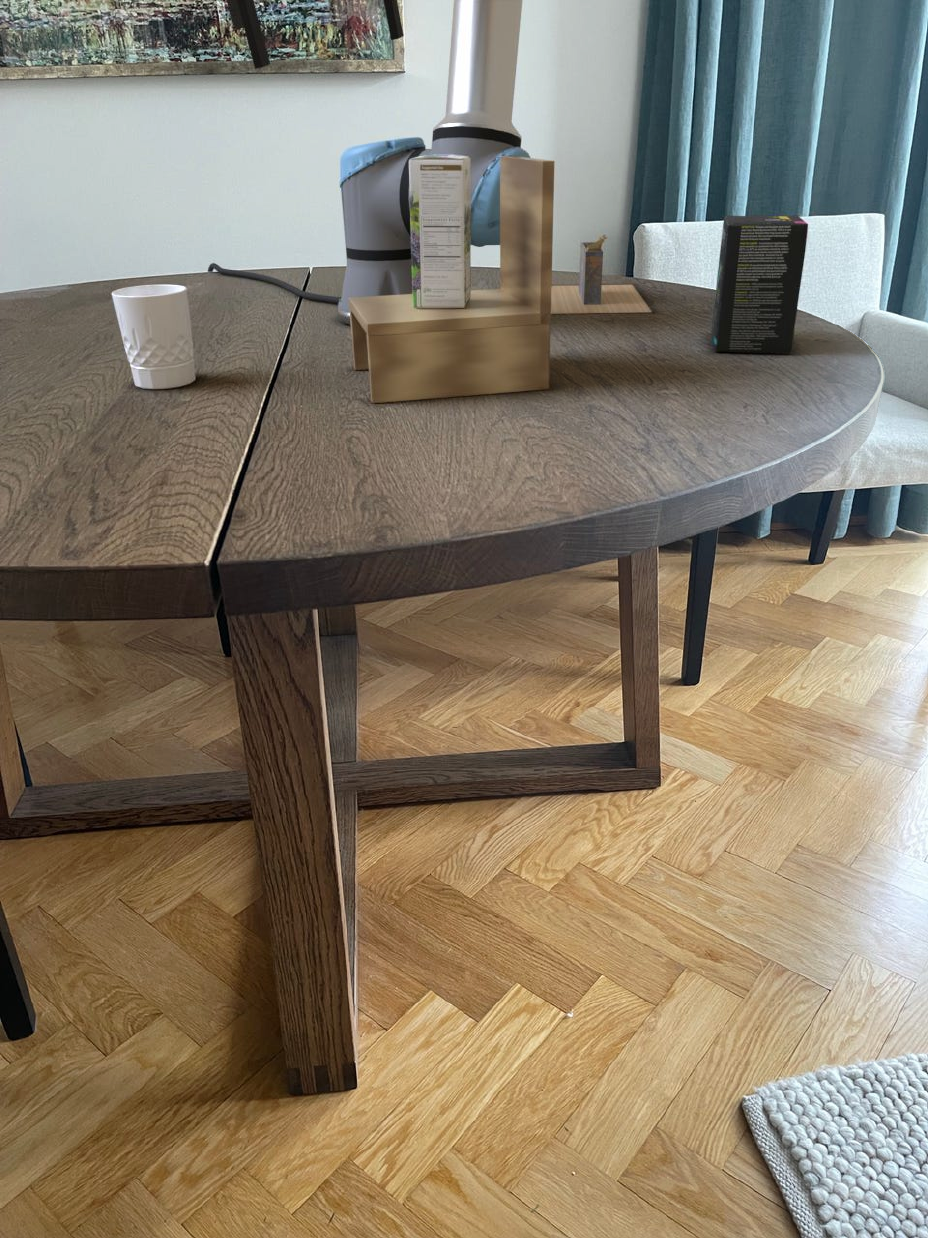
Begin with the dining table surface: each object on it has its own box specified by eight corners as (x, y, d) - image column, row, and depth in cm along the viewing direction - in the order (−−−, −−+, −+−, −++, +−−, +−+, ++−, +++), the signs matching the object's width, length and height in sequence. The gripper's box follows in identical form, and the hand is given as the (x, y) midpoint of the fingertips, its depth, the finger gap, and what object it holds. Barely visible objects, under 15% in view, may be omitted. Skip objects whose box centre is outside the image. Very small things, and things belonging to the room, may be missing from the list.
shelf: (372, 403, 96) (356, 167, 85) (353, 368, 110) (338, 160, 99) (549, 389, 100) (554, 160, 89) (509, 356, 113) (510, 155, 103)
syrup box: (420, 299, 104) (414, 154, 97) (472, 299, 103) (470, 153, 96) (412, 309, 99) (405, 156, 92) (467, 309, 98) (465, 155, 91)
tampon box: (792, 355, 111) (812, 222, 104) (713, 353, 113) (726, 222, 106) (783, 336, 120) (801, 213, 113) (710, 334, 122) (723, 213, 115)
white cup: (214, 375, 108) (200, 285, 103) (174, 393, 101) (158, 297, 96) (156, 371, 110) (141, 283, 105) (114, 388, 103) (95, 294, 99)
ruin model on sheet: (652, 312, 136) (657, 241, 132) (540, 313, 137) (541, 243, 133) (632, 284, 158) (636, 222, 154) (536, 285, 159) (537, 224, 155)
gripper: (106, -210, 76) (195, 82, 88) (399, -293, 71) (451, 28, 83) (142, -200, 82) (221, 72, 94) (414, -276, 77) (460, 22, 89)
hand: (329, 52), depth 89 cm, fingers open, 13 cm apart
